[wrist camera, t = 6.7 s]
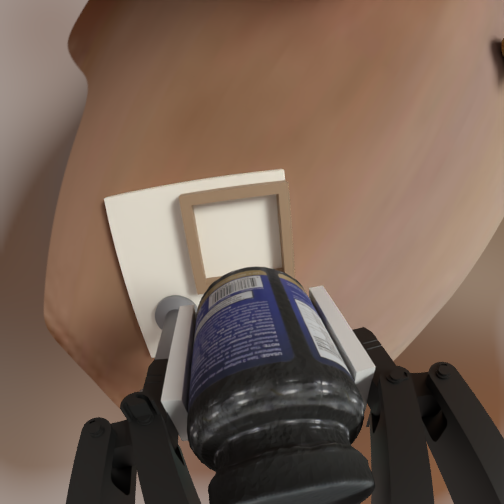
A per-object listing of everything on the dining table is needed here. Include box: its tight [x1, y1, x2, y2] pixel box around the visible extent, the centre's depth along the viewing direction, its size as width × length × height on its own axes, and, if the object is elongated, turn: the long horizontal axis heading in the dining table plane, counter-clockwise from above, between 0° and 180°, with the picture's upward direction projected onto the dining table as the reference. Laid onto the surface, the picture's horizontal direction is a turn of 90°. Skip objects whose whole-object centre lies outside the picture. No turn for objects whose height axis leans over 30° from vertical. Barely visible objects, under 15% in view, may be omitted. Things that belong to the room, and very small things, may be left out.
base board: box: [104, 169, 295, 360], centre depth 25 cm, size 20×18×14 cm
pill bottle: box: [187, 266, 375, 504], centre depth 10 cm, size 6×6×11 cm
